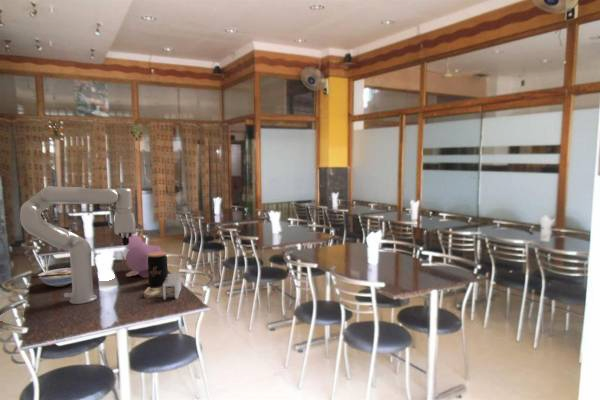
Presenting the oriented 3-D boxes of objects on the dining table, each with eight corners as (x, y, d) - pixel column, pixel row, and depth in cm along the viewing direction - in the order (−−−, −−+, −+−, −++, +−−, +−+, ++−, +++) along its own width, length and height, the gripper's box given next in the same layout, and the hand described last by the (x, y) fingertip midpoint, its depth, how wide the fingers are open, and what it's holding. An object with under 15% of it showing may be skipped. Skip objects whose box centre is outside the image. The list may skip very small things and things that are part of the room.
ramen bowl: (88, 277, 260) (87, 264, 259) (81, 288, 238) (80, 274, 237) (42, 282, 252) (41, 268, 251) (31, 293, 230) (30, 278, 230)
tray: (144, 298, 220) (143, 292, 219) (148, 292, 229) (147, 287, 229) (173, 296, 222) (173, 291, 221) (176, 290, 232) (176, 285, 231)
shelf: (163, 299, 216) (162, 284, 216) (168, 288, 236) (168, 273, 235) (177, 298, 218) (176, 283, 217) (181, 287, 237) (181, 273, 236)
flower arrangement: (122, 277, 277) (110, 237, 273) (158, 265, 289) (147, 226, 286) (133, 285, 247) (119, 239, 244) (172, 271, 259) (159, 227, 256)
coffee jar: (144, 285, 242) (143, 254, 240) (157, 280, 252) (156, 251, 250) (159, 287, 238) (158, 256, 236) (172, 282, 248) (170, 252, 246)
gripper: (107, 212, 221) (109, 246, 222) (137, 211, 223) (138, 245, 224) (112, 210, 228) (113, 244, 230) (140, 210, 230) (142, 243, 232)
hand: (126, 244), depth 227 cm, fingers closed
